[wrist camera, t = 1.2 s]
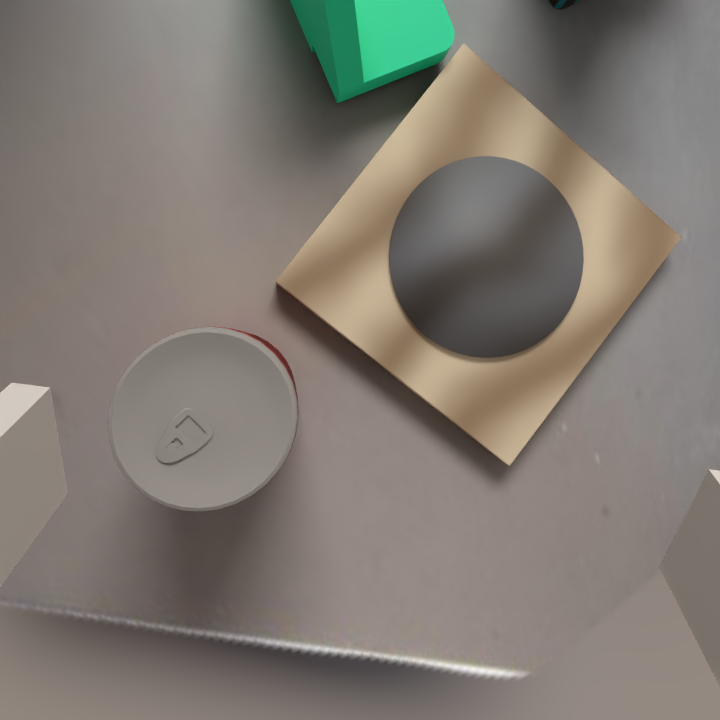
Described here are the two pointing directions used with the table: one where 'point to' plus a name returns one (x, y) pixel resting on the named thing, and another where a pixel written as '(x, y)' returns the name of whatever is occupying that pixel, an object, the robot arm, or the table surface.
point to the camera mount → (374, 39)
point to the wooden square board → (480, 257)
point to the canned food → (204, 418)
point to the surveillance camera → (562, 3)
